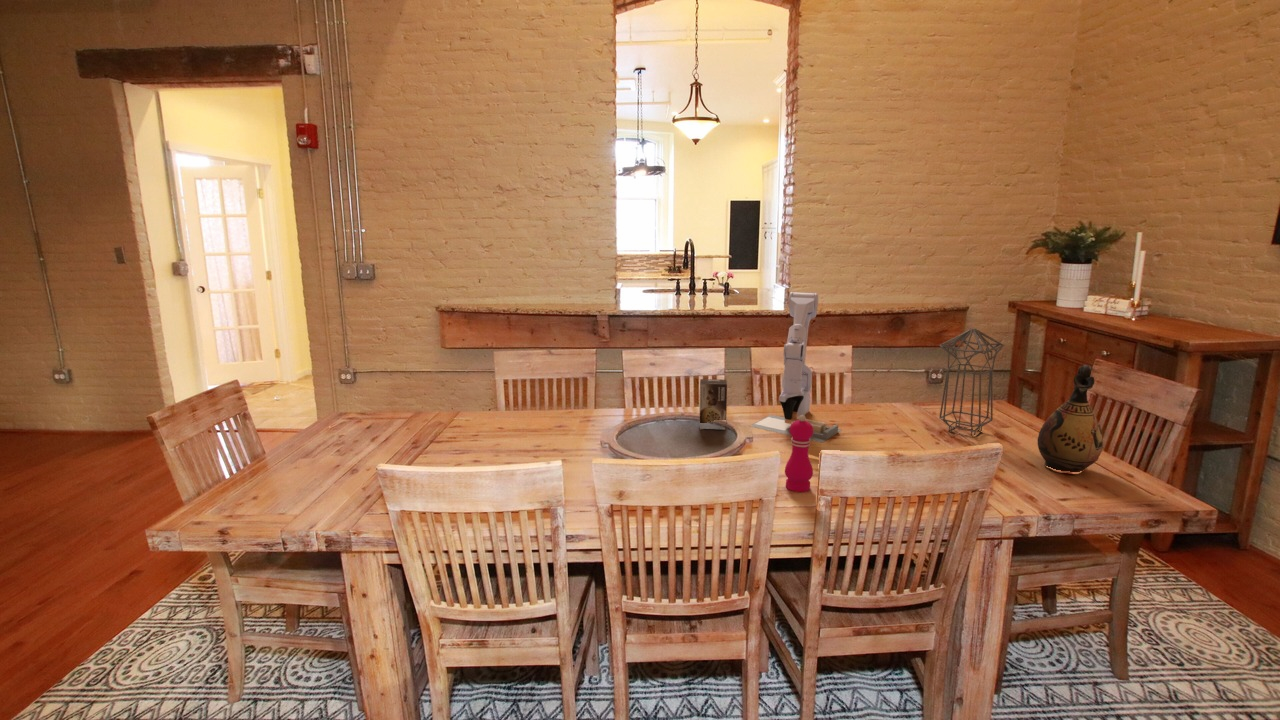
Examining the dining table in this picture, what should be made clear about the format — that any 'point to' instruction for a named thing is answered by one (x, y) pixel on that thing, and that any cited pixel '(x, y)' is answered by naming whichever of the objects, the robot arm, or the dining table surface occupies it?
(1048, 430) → the ceramic jug
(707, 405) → the cookie box
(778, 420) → the lane board
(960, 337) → the geometric lantern
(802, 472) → the pepper mill
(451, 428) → the dining table surface
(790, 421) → the birch block
